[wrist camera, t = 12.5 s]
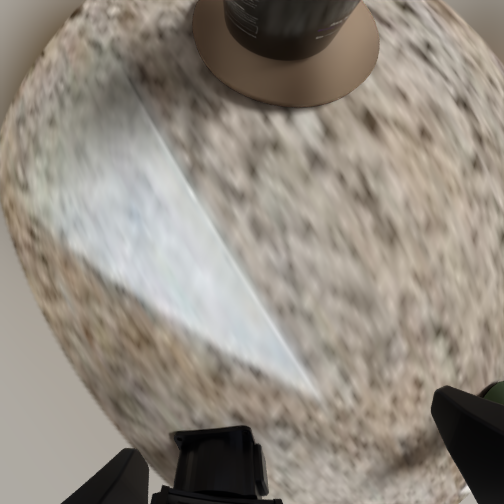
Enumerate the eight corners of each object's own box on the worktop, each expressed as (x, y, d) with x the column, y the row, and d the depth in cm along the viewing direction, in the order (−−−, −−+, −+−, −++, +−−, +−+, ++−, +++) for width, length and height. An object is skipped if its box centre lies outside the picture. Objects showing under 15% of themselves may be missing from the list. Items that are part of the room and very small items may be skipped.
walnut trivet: (209, 122, 16) (208, 118, 15) (185, -20, 14) (183, -27, 13) (392, 102, 16) (400, 99, 15) (345, -29, 14) (348, -36, 13)
